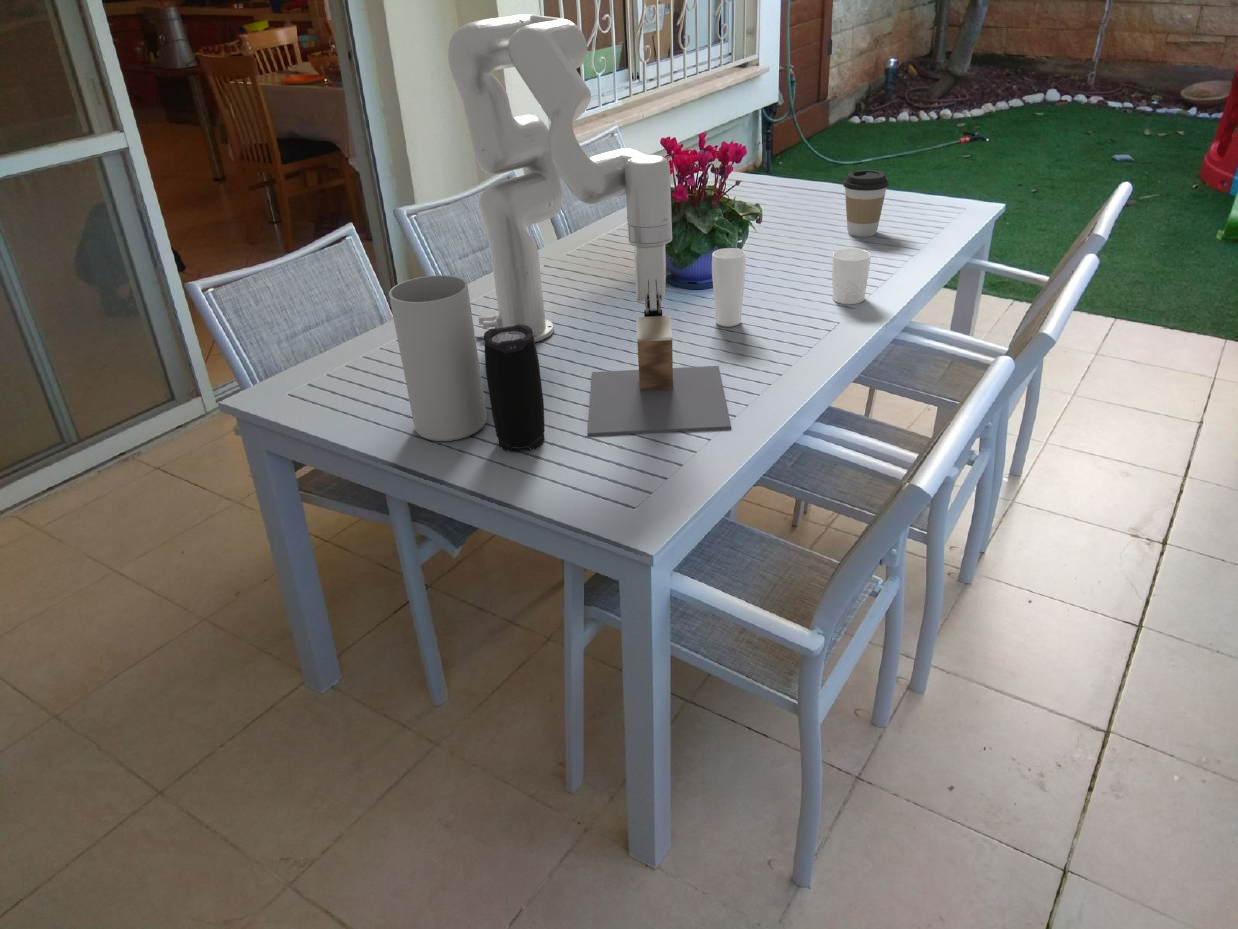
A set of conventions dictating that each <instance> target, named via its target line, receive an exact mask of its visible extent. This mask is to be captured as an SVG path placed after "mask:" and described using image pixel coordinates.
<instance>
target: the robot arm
mask: <svg viewBox="0 0 1238 929" xmlns="http://www.w3.org/2000/svg"><path fill="white" fill-rule="evenodd" d="M447 51H448V52H447V55H448V59H447V60H448V65H449V69H450V73H451V76H452V79H453V81H454V83H455V85H456V88H457V91H458V93H459V96H460V97H461V100H462V103H463V107H464V108H463V109H464V112H465V117H466V122H467V126H468V130H469V134H470V138H471V139H470V140H471V144H472V146H473V152H474V155H475V158H476V162H477V164H478V166H479V168H480V169H481V171H482V172H484V173H485V174H487V175H488V174H489V175H500V174H505V173H508V172H513V171H515V170H521V169H522V171H523V174H522V175H520V176H515V177H511V178H508V179H505V180H501V181H498V182H495V183H493V184H491V185H489V186H487V188H485V189H484V190H483V192H482V194H481V195H480V197H479V202H478V207H479V213H480V216H481V220H482V222H483V225H484V228H485V229H484V230H485V232H486V236H487V240H488V244H489V251H490V259H491V264H492V265H491V266H492V272H493V279H494V288H495V289H494V290H495V295H496V296H495V297H496V303H497V313H493V315H478V323H479V324H478V325H480V326H483V329H489V328H490V329H491V328H495V329H497V328H504V327H510V326H515V325H518V324H520V325H527V326H529V327H530V328H531V329H532V331H533V337H534V341H535V343H537V342H541V341H543V340H546V339H548V338H550V336H551V335H553V333H554V332H555V331H554V328H555V326H554V324H553V322H552V321H551V320H548V319H546V315H545V314H546V313H545V305H544V304H545V303H544V295H543V286H542V276H541V275H542V274H541V265H540V264H541V263H540V257H539V256H540V255H539V250H538V246H537V244H536V242H535V240H534V239H533V238H532V236H531V235H530V234H529V233H528V231H527V228H528V227H531V226H533V225H535V224H538V223H541V222H544V221H547V220H549V219H552V218H554V217H556V216H557V215H559V213H560V212H561V209H562V207H563V204H564V194H563V187H562V182H561V179H562V181H563V182H564V184H565V185H566V187H567V189H568V190H569V191H570V192H571V194H572V195H573V196H574V197H575V198H577V199H578V200H579V201H580V202H582V203H585V204H588V205H594V204H595V205H596V204H600V203H603V202H605V201H609V200H611V199H614V198H619V197H623V196H625V203H626V207H625V208H626V222H627V240H628V242H627V243H629V244H630V245H632V246H634V250H633V251H634V252H633V254H634V274H635V287H636V289H635V291H636V294H635V295H636V301H637V302H638V303H641V302H645V303H644V304H645V308H644V311H643V312H644V314H643V315H644V316H643V317H652V316H663V309H662V302H663V301H664V300H665V298H666V278H667V276H666V275H667V272H666V270H667V268H666V267H667V265H666V264H667V263H666V262H667V261H666V260H667V259H666V255H667V254H666V245H667V244H669V243H671V242H672V241H673V228H672V227H673V224H672V196H671V193H672V190H671V166H670V162H669V160H668V159H667V158H666V157H664V156H662V155H658V154H645V153H644V152H640V151H639V150H636V149H634V148H629V147H623V148H618V149H613V150H610V151H605V152H602V153H598V154H595V155H591V156H588V155H587V153H586V152H585V151H584V149H583V147H582V146H581V145H580V143H579V141H578V139H577V137H576V135H575V131H574V126H573V125H574V124H573V123H574V122H576V120H578V118H579V117H581V115H583V113H584V112H585V111H586V109H587V108H588V106H589V105H590V102H591V99H592V93H591V90H590V88H589V87H588V85H587V83H585V81H584V80H583V78H582V76H581V75H580V73H579V72H578V71H577V69H579V68H580V67H581V66H582V65H583V64H584V63H585V61H586V59H587V55H588V44H587V40H586V37H585V35H584V32H583V31H582V30H581V28H580V27H579V26H578V25H577V24H576V23H574V21H572V20H569V19H566V18H561V17H553V16H545V15H537V14H531V13H529V14H528V13H527V14H526V13H524V14H514V15H507V16H506V15H505V16H501V17H494V18H493V17H491V18H485V19H479V20H475V21H471V22H469V23H465V24H463V25H462V26H460V27H459V28H457V29H456V30H455V31H454V32H453V33H452V35H451V37H450V39H449V42H448V49H447ZM510 68H515V70H516V71H517V73H518V75H519V76H520V77H521V79H522V81H523V82H524V84H525V85H526V87H527V88H528V89H529V91H530V92H531V94H532V96H533V97H534V99H535V100H536V101H537V104H539V107H540V108H541V110H542V111H543V112H544V113H545V115H546V117H547V118H548V120H549V125H548V127H547V124H545V122H544V120H542V119H541V118H540V117H538V116H536V115H533V114H521V115H516V116H514V115H513V112H512V109H511V104H510V99H509V96H508V93H507V91H506V89H505V87H504V86H503V84H502V83H501V82H500V80H499V79H498V78H497V77H496V76H495V75H494V74H493V73H492V72H494V71H498V70H503V69H510Z"/></svg>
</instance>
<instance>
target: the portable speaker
mask: <svg viewBox="0 0 1238 929" xmlns="http://www.w3.org/2000/svg"><path fill="white" fill-rule="evenodd" d="M483 341H484V363H485V365H484V367H485V374H486V382H487V388H488V395H489V396H488V397H489V402H490V403H489V404H490V411H491V417H492V420H493V425H494V430H495V434H496V435H495V436H496V437H497V441H498V446H499V448H501V450H503V451H506V452H511V450H513V449H522V448H529V449H530V450H537V449H538V448H540V447H541V446H543V444H544V442H545V404H544V395H543V387H542V378H541V371H540V370H541V369H540V362H539V355H538V351H537V347H536V342H535V341H534V337H533V331H532V329H531V328H530V327H529V326H527V325H520V324H518V325H515V326H510V327H504V328H497V329H495V327H493V328H490V329H488V330H486V331H485V332H484V335H483Z"/></svg>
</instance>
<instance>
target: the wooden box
mask: <svg viewBox="0 0 1238 929" xmlns="http://www.w3.org/2000/svg"><path fill="white" fill-rule="evenodd" d="M635 323H636V341H637V345H636V346H637V358H638V360H637V363H638V364H637V365H638V370H639V383H640V391H645V390H665V389H673V368H674V367H673V333H672V332H673V331H672V330H673V329H672V317H671V315H662V316H652V317H644V316H638V317H636V322H635Z"/></svg>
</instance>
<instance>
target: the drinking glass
mask: <svg viewBox="0 0 1238 929" xmlns="http://www.w3.org/2000/svg"><path fill="white" fill-rule="evenodd" d="M711 256H712V258H711V276H712V278H711V279H712V286H713V287H712V289H713V296H714V298H713V299H714V309H715V310H714V312H715V322H716V324H717V325H719V326H722V327H726V328H727V327H728V328H729V327H735V326H736V327H737V326H738V325H740V323H741V322H742V318H743V317H742V316H743V315H742V312H743V302H744V291H745V280H746V262H747V260H746V259H747V258H746V252H745V251H744V250H742V249H740V248H734V247H733V248H731V247H726V248H719V249H716V250H714V251H713V252H712V253H711Z"/></svg>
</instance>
